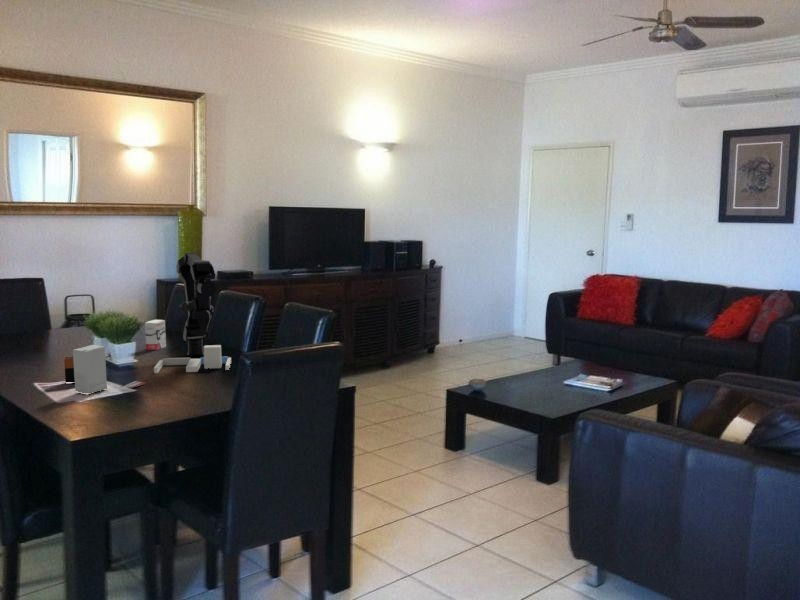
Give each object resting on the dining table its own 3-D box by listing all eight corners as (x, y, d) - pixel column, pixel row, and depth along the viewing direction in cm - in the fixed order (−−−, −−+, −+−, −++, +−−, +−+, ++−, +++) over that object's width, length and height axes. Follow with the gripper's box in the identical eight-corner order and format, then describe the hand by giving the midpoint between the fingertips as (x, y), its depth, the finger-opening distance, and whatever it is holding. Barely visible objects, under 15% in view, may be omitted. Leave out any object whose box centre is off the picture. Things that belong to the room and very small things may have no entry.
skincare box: (94, 388, 241) (92, 344, 239) (108, 390, 239) (106, 345, 237) (74, 394, 234) (71, 348, 232) (87, 396, 231) (85, 350, 229)
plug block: (205, 366, 274) (204, 345, 273) (221, 365, 275) (221, 345, 274) (204, 368, 270) (203, 347, 269) (220, 368, 271) (220, 347, 270)
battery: (87, 383, 248) (85, 354, 246) (65, 385, 245) (63, 356, 244) (88, 380, 252) (86, 352, 250) (66, 382, 249) (64, 353, 248)
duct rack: (160, 364, 276) (159, 358, 276) (231, 362, 280) (231, 356, 280) (154, 373, 262) (153, 366, 262) (228, 370, 267) (228, 363, 266)
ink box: (156, 350, 303) (155, 322, 302) (145, 350, 304) (144, 322, 303) (166, 346, 312) (165, 319, 310) (155, 346, 313) (154, 319, 311)
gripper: (183, 291, 286) (185, 330, 288) (177, 297, 268) (179, 339, 270) (212, 290, 288) (214, 329, 290) (208, 296, 269) (209, 338, 271)
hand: (203, 333), depth 280 cm, fingers closed
